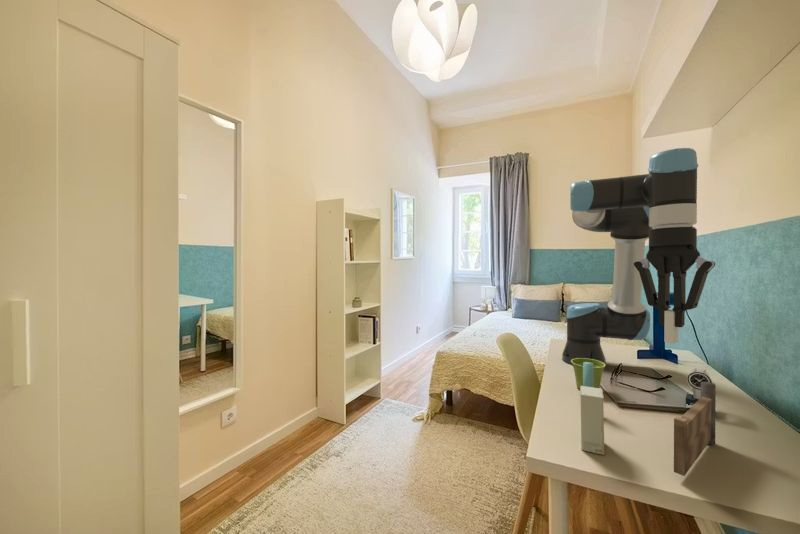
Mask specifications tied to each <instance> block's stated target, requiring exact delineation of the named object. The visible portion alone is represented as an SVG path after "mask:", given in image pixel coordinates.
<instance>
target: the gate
mask: <svg viewBox="0 0 800 534" xmlns="http://www.w3.org/2000/svg"><path fill="white" fill-rule="evenodd" d="M713 383H714V382H712V383H710V382H701V398H700V399H699V400H698V401H697V402H696V403H695V404H694V405H693V406H692V407H691V408H690V409H689V410H687V411H686V412H685V413H684V414H683V415H681V417H680V416H677V415H676V416H675V417H674V418H673V472H674V473H675V474H678V475H680V476H683V477H685V476H686V475H687V474H688V472H689V470H690V469H691V468H692V466H693V465H694V464H695V462H696V461H698V458H699V457H700V455H702V453H703V452H704V450H705V449H706V448H707V446H708V445H712V446H713V445H716V418H717V417H716V413H717V412H716V411H717V409H716V408H717V407H716V406H717V404H716V401H717V400H716V396H717V395H716V394H717V393H716V392H717V391H716V390H717V389H716V388H717V386H716V383H714V384H713Z"/></svg>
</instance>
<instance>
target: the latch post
mask: <svg viewBox="0 0 800 534" xmlns="http://www.w3.org/2000/svg"><path fill="white" fill-rule="evenodd" d="M583 386H587V387H593V363H590V362H583Z"/></svg>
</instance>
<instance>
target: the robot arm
mask: <svg viewBox="0 0 800 534" xmlns="http://www.w3.org/2000/svg"><path fill="white" fill-rule="evenodd" d="M697 156H698V155H697V152H696V150H695V149H694V148H690V147H678V148H671V149H666V150H663V151H660V152H657V153H655V154H653V155H652V156H651V157H650V158H649V164H648V168H647V171H648V173H645V174H635V175H628V176H627V175H626V176H620V177H609V178H600V179H590V180H589V179H585V180H581V181H576V182H573V183H571V185H570V190H569V191H570V192H569V193H570V194H569V195H570V196H569V197H570V199H569V201H570V202H569V203H570V210H571V211H572V212H571V216H572V217H571V218H572V221H573V222H574V224H575V225H576V226H577V227H579V228H581V229H583V230H585V231H589V232H594V233H610V238H611V239H613V240H614V242H615V243H614V259H613V260H614V262H613V281H612V282H613V283H612V299H611V300H610V301H608V302H607V304H606V305H607V307H602V306H601V304H600V303H597V302H596V303H595V302H593V303H592V302H587V303H586V302H585V303H577V304H576V303H575V304H572V305H571V304H570V305H569V306H568V307H567V309H566V317H565V318H566V342H565V346H564V349H563V351H562V354H561V359H562V361H563V362H565V363H566V364H569V365H572V366H573V364H572V363H571V360H572V359H575V358H587V359H594V360H598V361H601V362H603V363H605V365H606V360H607V359H606V356H605V353H604V351H603V348H602V345H601V338H606V339H619V340H628V341H643V340H644V339H646V338H647V336H648V335H649V332H650V328H651V327H650V326H651V314H650V310H648V309H646V305H644V303H642V302H641V300H642V287H643V290H644V294H645V297H646V298H645V299H646V301H647V304H648V306H650V307H654V308H656V309H657V310H658V324H659V325H660V326H664V331H663V332H664V334H663V335H664V338H663V339H664V343H666V344H667V343H668V344H672V345H673V344H676V343H678V342H679V328H683V327H684V326H685V317H686V315H685V312H686V311H688V310H693V309H696V308H697V307H698V305H699V302H700V300H701V296H702V294H703V290H704V287H705V284H706V281H707V277H708V275H709V273H710V272H711V270H712V269H713V268H715V266H716V262H714V261H713V260H708V259H705V258H704V257H701V254H700V253H701V252H700V251H698V247H697V243H698V239H697V238H698V236H697V235H698V234H697V233H698V232H697V231H698V229H697V228H696V227H695V225H696V224H697V222H698V221H697V219H698V217H697V216H698V209H697V208H698V204H697V200H698V167H699V164H698V157H697ZM647 241H648V250H647V253H646V255H645V250H646V242H647ZM695 263H696V265H695ZM650 264H651V265H652V266H653V268H654V269H655V270H656V276H657V290H656V286H655V283H654V280H653V276H652V272H651V270H650V267H651V265H650ZM693 265H695V268H696V269H697V270H696V272H695V274H694V277H693V279H692V283H691V287H690V289H689V293H688V295H687V298H686V291H687V290H686V277H687V272H688V271H689V269H691V268H692V266H693ZM671 274H672V275H671ZM671 276H672V278H673V308H672V309H670V308H671V307H672V306H671V304H670V302H671V301H670V299H671V298H670V297H671V294H670V293H671V292H670V291H671V290H670V289H671V287H670V285H671Z"/></svg>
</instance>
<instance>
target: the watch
mask: <svg viewBox="0 0 800 534" xmlns="http://www.w3.org/2000/svg"><path fill="white" fill-rule="evenodd" d="M686 381H687V384H688V386H689V388H690V391H691V392H692V393H686V395H685V405H686V404H688V405H694V404H695V403H696V402H697V401H698V400H699V399H700V398H701V382H710V383H713V384H715V382H713V381H712V379H711V377H710V375H709V372H707V369H703V368H697V367H695V368H694V369H692V370H691V371H690V373H688V375H687V376H686Z"/></svg>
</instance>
